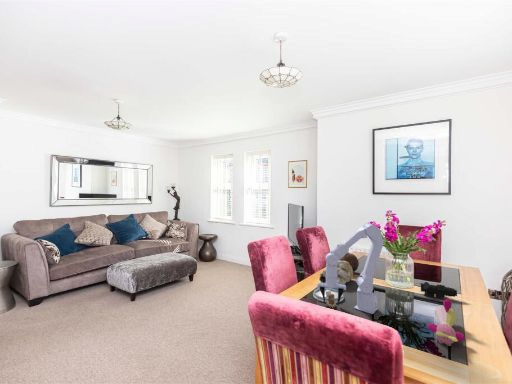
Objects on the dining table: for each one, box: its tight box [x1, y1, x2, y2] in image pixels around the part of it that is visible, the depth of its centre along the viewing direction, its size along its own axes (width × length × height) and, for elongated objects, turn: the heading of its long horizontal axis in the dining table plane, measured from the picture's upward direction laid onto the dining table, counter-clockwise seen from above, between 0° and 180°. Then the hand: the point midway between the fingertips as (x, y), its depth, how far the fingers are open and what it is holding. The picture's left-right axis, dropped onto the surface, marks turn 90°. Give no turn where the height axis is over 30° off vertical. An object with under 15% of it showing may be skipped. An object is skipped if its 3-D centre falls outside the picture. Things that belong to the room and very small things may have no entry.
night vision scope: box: [419, 281, 458, 300], centre depth 152 cm, size 8×18×10 cm
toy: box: [427, 299, 466, 347], centre depth 113 cm, size 12×12×30 cm
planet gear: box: [326, 294, 337, 309], centre depth 140 cm, size 5×5×6 cm
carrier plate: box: [312, 288, 344, 304], centre depth 152 cm, size 17×17×4 cm
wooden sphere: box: [338, 252, 360, 273], centre depth 198 cm, size 15×15×15 cm
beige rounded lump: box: [319, 261, 354, 285], centre depth 174 cm, size 16×15×26 cm
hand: (331, 301), depth 140 cm, fingers open, 7 cm apart
